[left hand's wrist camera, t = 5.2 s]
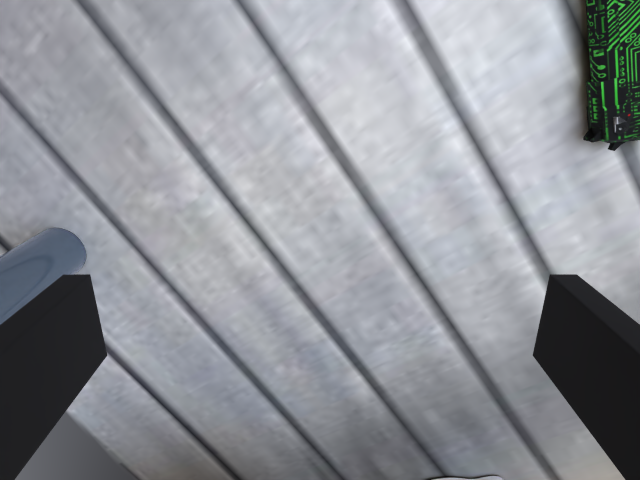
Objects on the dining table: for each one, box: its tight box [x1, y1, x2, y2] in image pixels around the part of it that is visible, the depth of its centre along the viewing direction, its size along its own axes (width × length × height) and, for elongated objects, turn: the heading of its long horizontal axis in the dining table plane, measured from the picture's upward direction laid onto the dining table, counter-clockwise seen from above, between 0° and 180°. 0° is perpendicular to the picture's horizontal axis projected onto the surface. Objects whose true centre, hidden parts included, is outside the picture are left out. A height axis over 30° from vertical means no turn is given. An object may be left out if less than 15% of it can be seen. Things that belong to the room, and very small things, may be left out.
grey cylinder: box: [0, 228, 86, 325], centre depth 34 cm, size 5×5×17 cm
